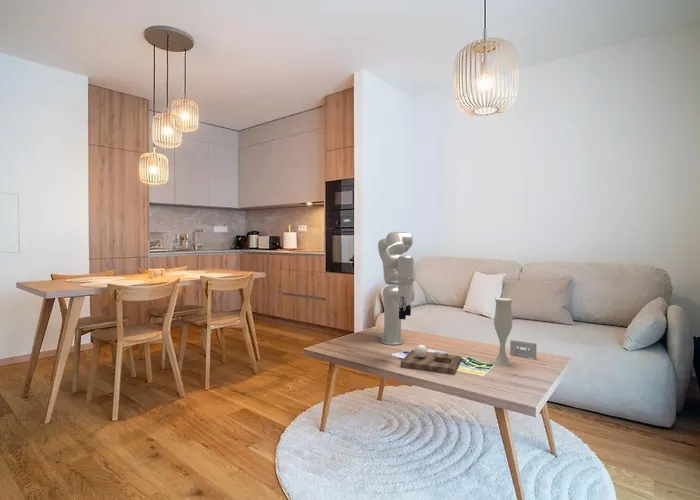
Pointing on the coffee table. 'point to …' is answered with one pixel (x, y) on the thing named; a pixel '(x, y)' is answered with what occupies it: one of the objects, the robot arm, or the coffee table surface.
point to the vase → (503, 327)
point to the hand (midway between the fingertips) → (404, 317)
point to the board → (432, 362)
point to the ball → (421, 351)
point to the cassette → (523, 353)
